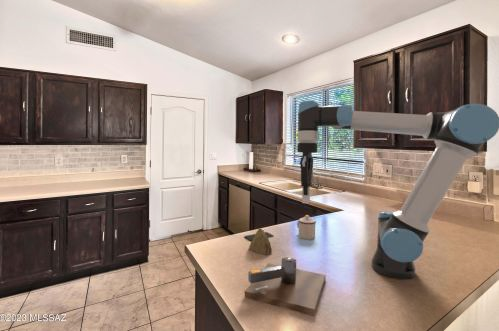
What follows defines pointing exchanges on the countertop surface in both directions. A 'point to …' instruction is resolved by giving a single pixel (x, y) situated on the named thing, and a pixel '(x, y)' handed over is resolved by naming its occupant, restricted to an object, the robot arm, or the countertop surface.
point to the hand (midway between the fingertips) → (305, 202)
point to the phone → (250, 237)
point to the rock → (260, 243)
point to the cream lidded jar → (306, 227)
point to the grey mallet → (276, 272)
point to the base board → (290, 291)
